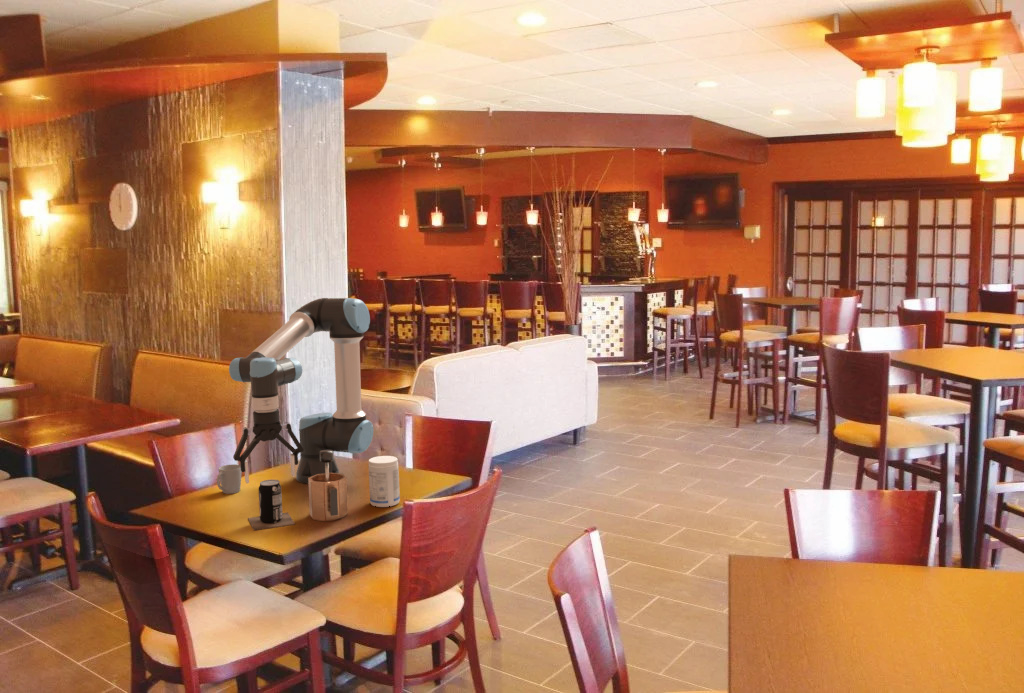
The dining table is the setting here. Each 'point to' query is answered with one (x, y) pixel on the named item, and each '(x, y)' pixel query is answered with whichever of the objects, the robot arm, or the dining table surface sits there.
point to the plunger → (326, 460)
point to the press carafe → (328, 497)
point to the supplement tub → (384, 481)
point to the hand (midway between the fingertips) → (270, 478)
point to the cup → (229, 478)
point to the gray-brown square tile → (259, 525)
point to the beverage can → (270, 501)
